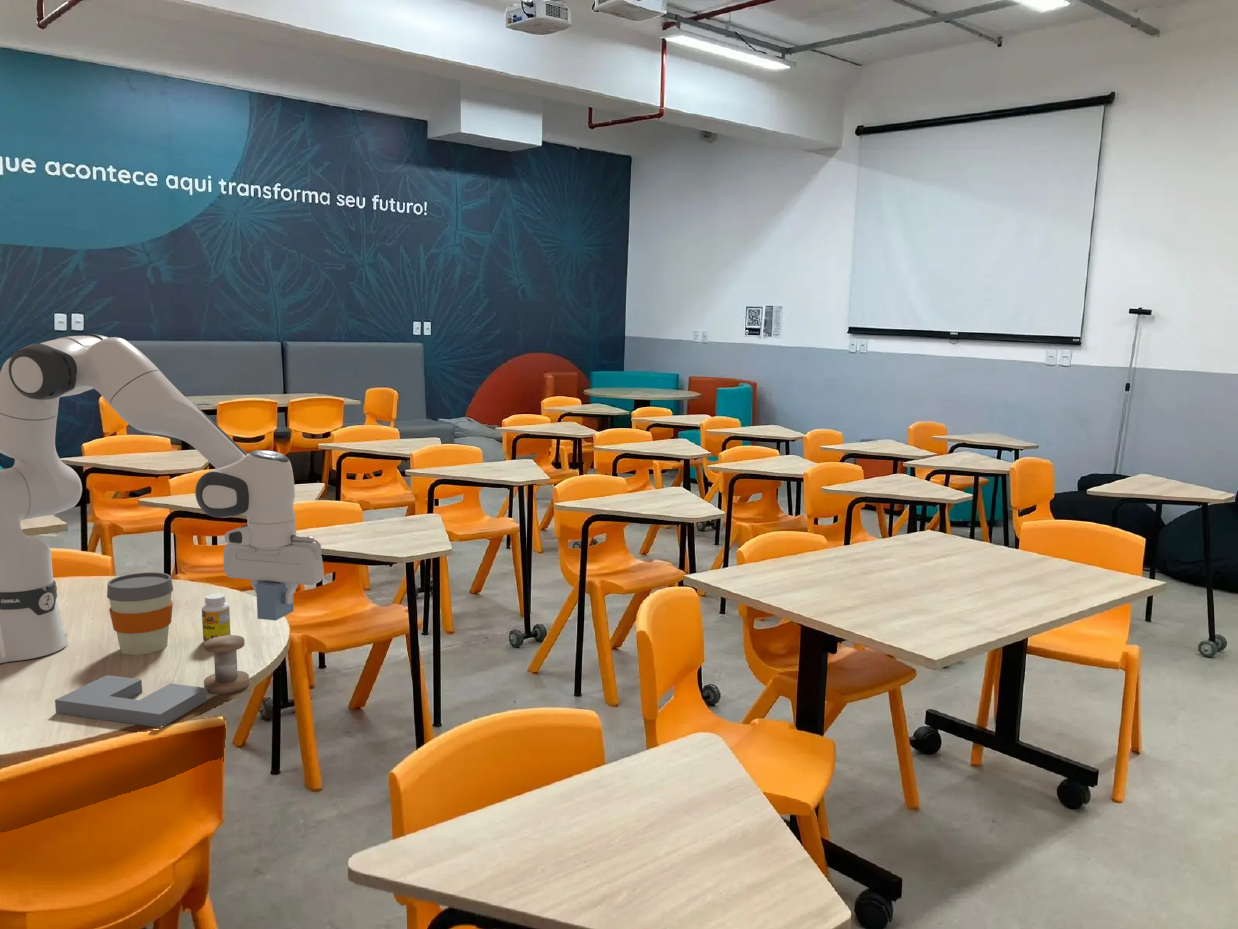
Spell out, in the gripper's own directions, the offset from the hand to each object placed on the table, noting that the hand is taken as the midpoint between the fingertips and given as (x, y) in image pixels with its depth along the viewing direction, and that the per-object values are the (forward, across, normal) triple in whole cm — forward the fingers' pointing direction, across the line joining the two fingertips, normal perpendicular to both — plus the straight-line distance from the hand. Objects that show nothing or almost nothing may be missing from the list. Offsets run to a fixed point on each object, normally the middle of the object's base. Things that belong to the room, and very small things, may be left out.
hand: (275, 602), depth 181 cm
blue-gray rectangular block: (+3, 0, 0) cm, 3 cm away
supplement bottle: (+15, +24, -14) cm, 32 cm away
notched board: (+15, +16, +20) cm, 30 cm away
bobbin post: (+15, +6, +7) cm, 18 cm away
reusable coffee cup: (+15, +36, -6) cm, 40 cm away
